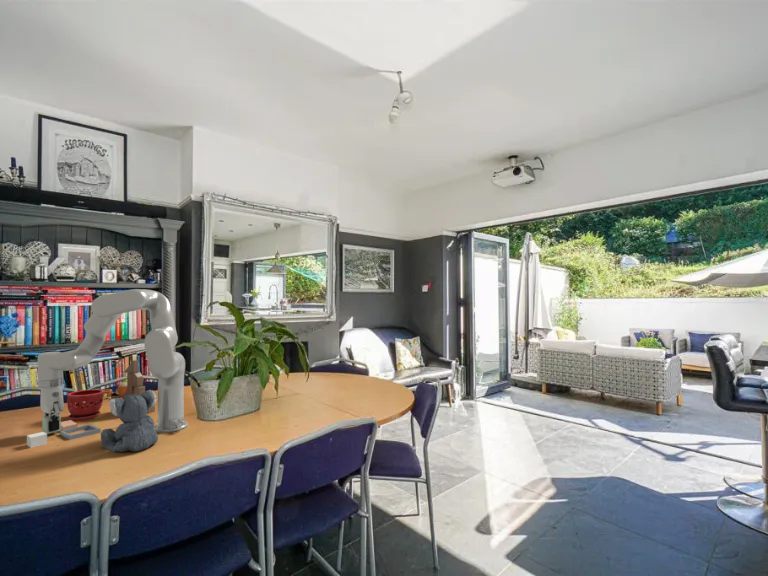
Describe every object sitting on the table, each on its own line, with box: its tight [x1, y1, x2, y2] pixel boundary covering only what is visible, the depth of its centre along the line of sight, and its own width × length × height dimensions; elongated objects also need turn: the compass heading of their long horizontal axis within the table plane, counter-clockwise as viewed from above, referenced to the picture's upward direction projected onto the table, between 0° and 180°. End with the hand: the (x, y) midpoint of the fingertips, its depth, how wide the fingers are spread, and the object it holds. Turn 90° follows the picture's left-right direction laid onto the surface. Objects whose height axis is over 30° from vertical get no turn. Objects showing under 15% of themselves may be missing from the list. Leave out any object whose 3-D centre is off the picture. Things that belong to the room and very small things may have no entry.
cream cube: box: [26, 431, 48, 449], centre depth 140 cm, size 4×4×4 cm
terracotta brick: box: [61, 419, 78, 431], centre depth 158 cm, size 9×4×3 cm, turn 53°
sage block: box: [41, 414, 62, 435], centre depth 151 cm, size 4×4×6 cm
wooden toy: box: [121, 359, 156, 415], centre depth 182 cm, size 16×7×25 cm, turn 71°
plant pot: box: [66, 389, 104, 422], centre depth 174 cm, size 13×13×12 cm
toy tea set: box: [81, 379, 127, 402], centre depth 208 cm, size 26×16×10 cm, turn 143°
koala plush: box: [100, 389, 159, 453], centre depth 140 cm, size 17×18×20 cm
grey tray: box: [59, 423, 101, 441], centre depth 152 cm, size 10×10×2 cm
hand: (51, 429), depth 151 cm, fingers closed on sage block, 4 cm apart
